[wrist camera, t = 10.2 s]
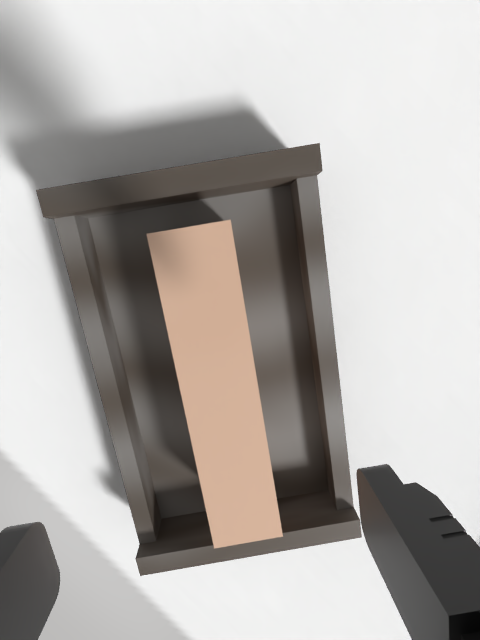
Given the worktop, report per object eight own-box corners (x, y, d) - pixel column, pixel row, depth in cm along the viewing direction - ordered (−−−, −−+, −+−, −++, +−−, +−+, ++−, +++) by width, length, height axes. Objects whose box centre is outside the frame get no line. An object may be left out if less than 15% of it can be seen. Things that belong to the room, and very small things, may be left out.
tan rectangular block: (164, 236, 19) (146, 233, 15) (229, 225, 19) (230, 219, 15) (216, 489, 23) (214, 548, 18) (271, 480, 23) (283, 536, 18)
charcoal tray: (73, 201, 20) (36, 190, 16) (301, 163, 20) (319, 143, 16) (153, 522, 24) (140, 575, 20) (339, 490, 24) (361, 537, 20)
